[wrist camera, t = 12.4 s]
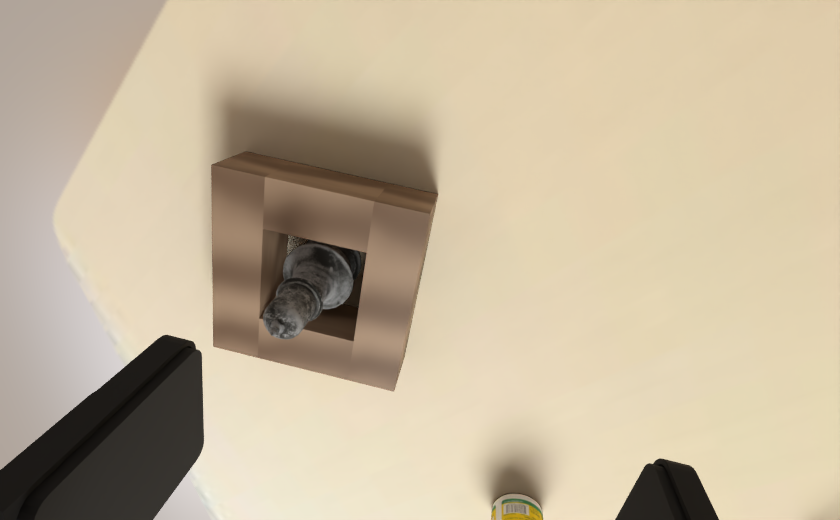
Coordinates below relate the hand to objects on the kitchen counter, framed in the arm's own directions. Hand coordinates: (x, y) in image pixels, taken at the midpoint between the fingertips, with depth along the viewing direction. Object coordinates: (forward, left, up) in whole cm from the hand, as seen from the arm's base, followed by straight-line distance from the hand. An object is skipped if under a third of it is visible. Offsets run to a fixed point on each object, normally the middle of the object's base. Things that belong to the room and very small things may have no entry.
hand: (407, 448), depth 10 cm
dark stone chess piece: (+11, -10, -28) cm, 32 cm away
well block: (+11, -10, -28) cm, 32 cm away
